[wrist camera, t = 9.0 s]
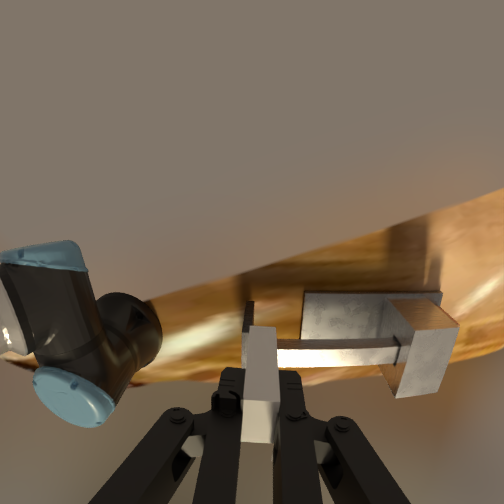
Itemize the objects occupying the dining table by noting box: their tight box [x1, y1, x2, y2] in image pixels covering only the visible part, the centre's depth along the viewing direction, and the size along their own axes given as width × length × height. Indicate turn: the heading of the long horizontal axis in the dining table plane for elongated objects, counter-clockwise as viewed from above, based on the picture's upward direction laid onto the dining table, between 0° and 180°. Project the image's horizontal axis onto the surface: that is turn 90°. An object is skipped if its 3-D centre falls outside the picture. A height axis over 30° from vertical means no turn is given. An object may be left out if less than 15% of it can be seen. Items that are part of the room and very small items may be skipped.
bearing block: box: [300, 291, 460, 398], centre depth 45 cm, size 26×13×13 cm, turn 89°
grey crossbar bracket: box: [242, 301, 401, 369], centre depth 44 cm, size 27×12×10 cm, turn 89°
